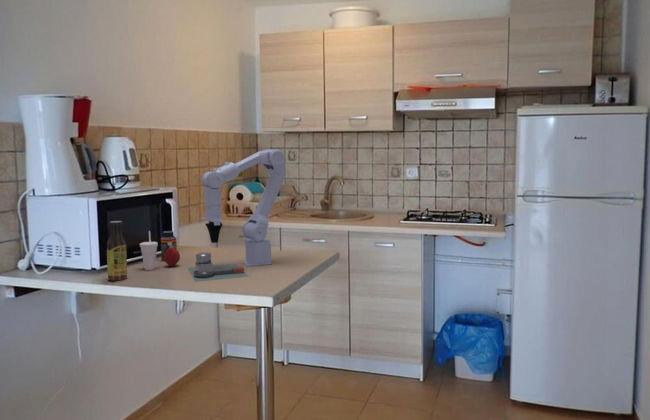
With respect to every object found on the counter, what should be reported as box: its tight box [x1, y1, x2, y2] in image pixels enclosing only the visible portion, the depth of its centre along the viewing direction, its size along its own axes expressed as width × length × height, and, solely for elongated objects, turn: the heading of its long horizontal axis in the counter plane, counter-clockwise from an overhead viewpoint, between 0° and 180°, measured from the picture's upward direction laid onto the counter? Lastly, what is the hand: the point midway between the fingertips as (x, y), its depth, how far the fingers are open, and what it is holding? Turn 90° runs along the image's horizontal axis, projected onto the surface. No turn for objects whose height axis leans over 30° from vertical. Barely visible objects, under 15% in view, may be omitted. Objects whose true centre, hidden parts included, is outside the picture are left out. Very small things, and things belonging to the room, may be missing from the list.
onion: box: [163, 246, 181, 267], centre depth 211 cm, size 6×6×8 cm
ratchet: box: [194, 265, 245, 278], centre depth 197 cm, size 17×7×4 cm, turn 110°
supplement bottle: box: [160, 230, 178, 262], centre depth 223 cm, size 6×6×11 cm
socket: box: [194, 252, 213, 273], centre depth 195 cm, size 5×5×6 cm
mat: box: [187, 263, 249, 282], centre depth 201 cm, size 18×22×1 cm
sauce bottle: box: [106, 220, 128, 282], centre depth 192 cm, size 6×6×20 cm
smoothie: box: [139, 230, 159, 271], centre depth 207 cm, size 6×6×14 cm
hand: (214, 242), depth 205 cm, fingers closed
